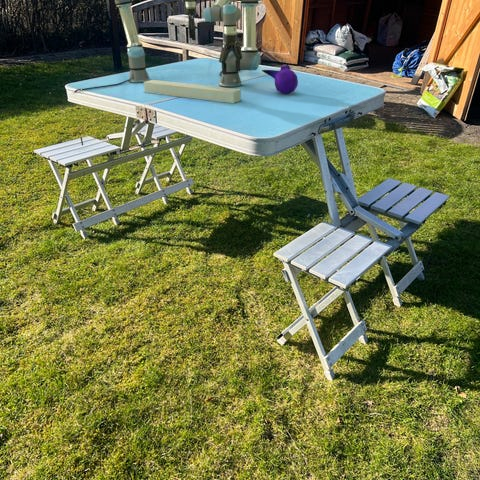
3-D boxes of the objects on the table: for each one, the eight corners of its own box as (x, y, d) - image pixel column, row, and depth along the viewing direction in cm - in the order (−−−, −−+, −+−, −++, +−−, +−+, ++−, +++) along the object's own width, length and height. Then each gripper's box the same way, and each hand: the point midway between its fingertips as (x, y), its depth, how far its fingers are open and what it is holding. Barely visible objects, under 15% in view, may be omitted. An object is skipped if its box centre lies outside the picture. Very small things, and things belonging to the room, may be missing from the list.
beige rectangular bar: (144, 92, 306) (143, 82, 303) (153, 89, 313) (152, 79, 309) (233, 103, 274) (233, 92, 271) (240, 100, 281) (240, 89, 277)
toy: (281, 86, 312) (297, 99, 291) (258, 82, 304) (273, 95, 284) (288, 63, 304) (305, 74, 283) (264, 58, 296) (281, 69, 276)
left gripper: (198, 8, 324) (199, 40, 334) (193, 7, 345) (195, 37, 355) (187, 9, 322) (189, 41, 333) (183, 7, 343) (185, 37, 354)
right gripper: (222, 36, 250) (223, 76, 261) (247, 32, 268) (248, 70, 278) (211, 36, 254) (213, 75, 265) (237, 32, 271) (238, 69, 282)
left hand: (192, 39), depth 344 cm, fingers open, 13 cm apart
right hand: (231, 72), depth 271 cm, fingers open, 13 cm apart
